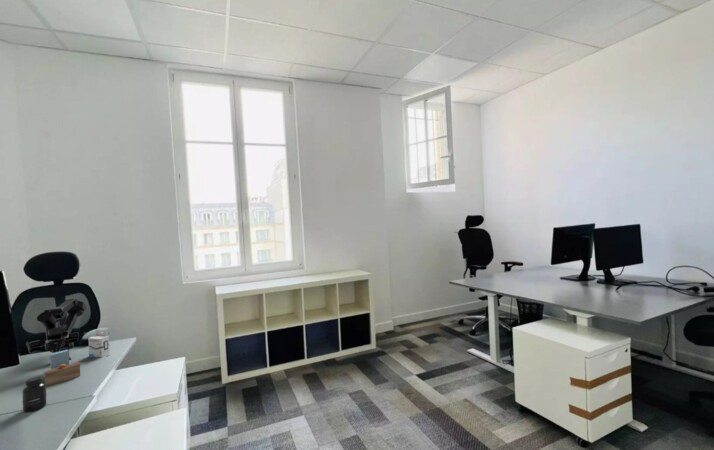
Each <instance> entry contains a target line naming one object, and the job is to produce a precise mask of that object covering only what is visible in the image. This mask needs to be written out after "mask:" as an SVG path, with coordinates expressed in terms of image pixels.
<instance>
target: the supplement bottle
mask: <svg viewBox="0 0 714 450" xmlns="http://www.w3.org/2000/svg"><path fill="white" fill-rule="evenodd" d="M43 378H44V377H43V376H42V375H38V376H32V377H29V378H27V379H26V380H25V387H24V388H23V389H22V412H24V413H33V412H36V411H39V410H41V409H43V408H44V407H46V405H47V386H46V384H45V383H44V380H43Z"/></svg>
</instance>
